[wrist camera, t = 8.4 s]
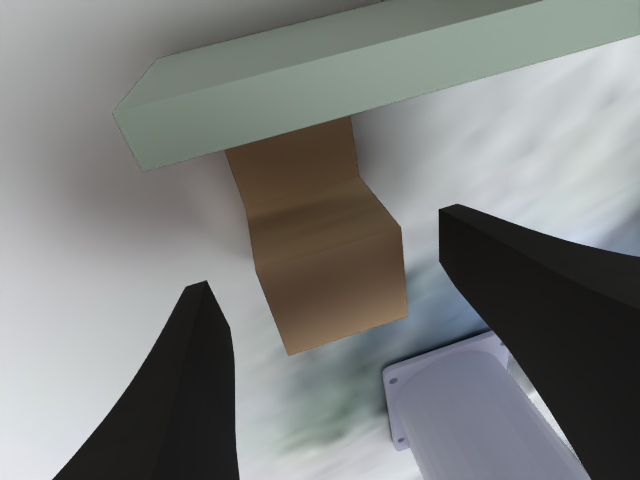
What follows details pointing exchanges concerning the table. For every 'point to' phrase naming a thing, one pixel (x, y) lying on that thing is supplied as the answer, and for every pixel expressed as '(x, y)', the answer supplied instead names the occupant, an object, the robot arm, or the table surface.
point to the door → (348, 67)
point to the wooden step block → (319, 235)
